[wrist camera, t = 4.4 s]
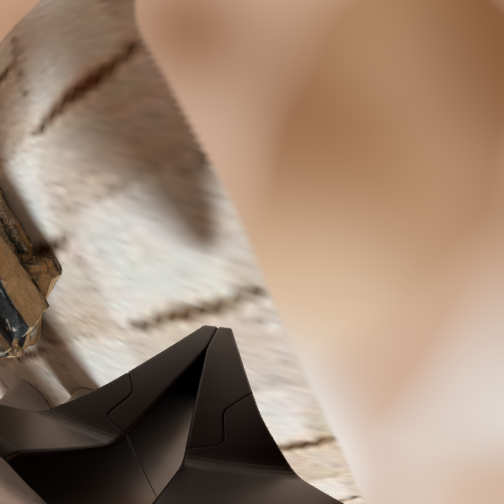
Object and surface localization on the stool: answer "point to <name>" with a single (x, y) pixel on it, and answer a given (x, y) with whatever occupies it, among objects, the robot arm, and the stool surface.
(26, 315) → the rock
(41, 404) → the spacers
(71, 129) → the stool surface
